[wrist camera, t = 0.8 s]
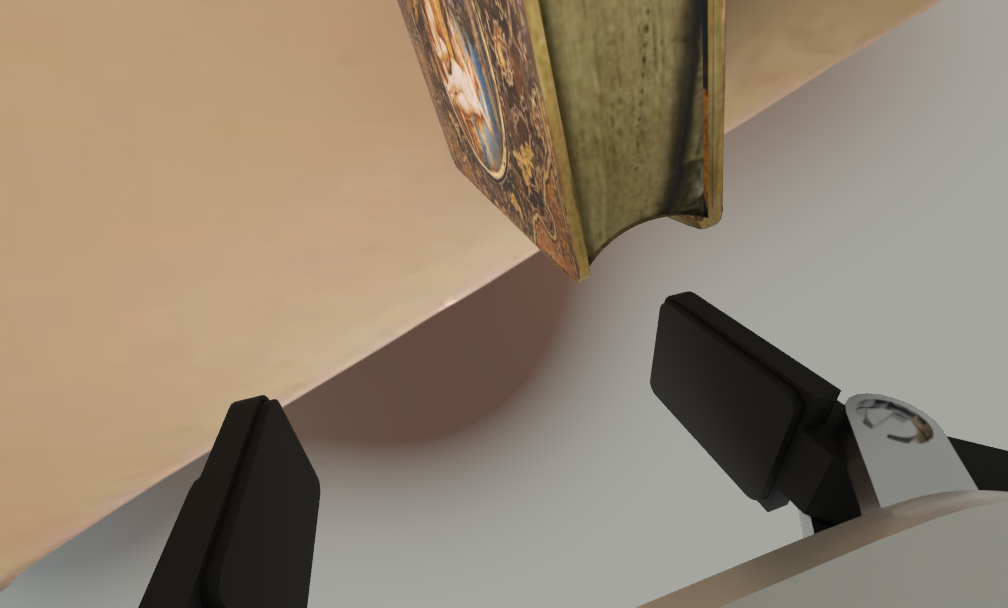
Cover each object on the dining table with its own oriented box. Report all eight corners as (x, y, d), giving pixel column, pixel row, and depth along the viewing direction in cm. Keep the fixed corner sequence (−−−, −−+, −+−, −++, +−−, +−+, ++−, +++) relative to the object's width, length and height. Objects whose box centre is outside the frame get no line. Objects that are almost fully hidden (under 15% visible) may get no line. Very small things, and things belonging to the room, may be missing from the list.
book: (367, -83, 26) (353, -797, 5) (446, -108, 26) (741, -846, 5) (454, 166, 35) (583, 294, 14) (512, 144, 35) (722, 235, 14)
